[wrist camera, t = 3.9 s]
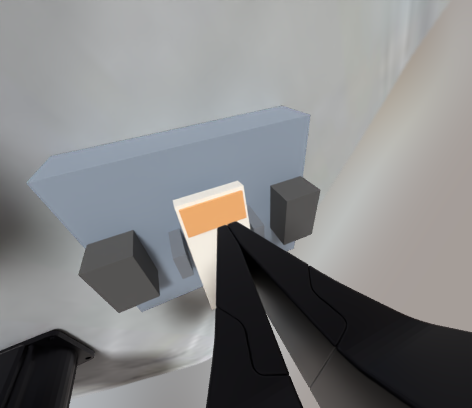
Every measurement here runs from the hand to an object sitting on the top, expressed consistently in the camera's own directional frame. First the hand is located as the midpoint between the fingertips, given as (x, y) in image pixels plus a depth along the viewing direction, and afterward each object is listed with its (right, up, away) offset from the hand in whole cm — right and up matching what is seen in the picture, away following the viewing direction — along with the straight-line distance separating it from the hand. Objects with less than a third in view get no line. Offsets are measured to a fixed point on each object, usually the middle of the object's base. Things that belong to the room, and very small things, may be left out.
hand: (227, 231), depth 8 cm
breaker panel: (-2, +1, +8) cm, 8 cm away
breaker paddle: (0, -2, +4) cm, 4 cm away
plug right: (+4, +1, +7) cm, 8 cm away
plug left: (-6, -2, +4) cm, 8 cm away
